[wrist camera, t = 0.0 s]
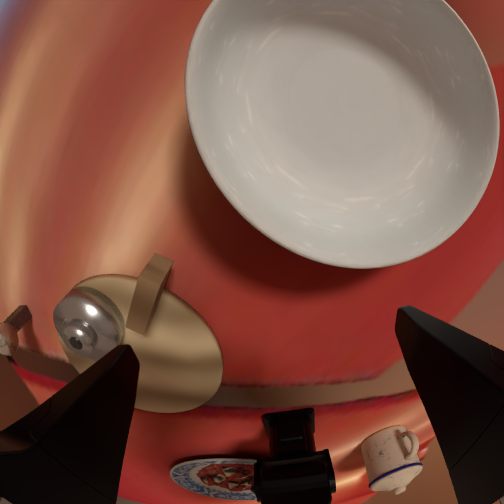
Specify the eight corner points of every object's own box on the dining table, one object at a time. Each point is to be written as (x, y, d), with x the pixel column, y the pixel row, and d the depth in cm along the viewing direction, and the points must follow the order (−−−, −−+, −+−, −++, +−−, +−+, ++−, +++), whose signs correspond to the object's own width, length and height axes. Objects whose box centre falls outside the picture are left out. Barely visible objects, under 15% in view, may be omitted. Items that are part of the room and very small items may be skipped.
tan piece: (239, 403, 30) (238, 437, 26) (105, 401, 32) (94, 428, 27) (190, 241, 22) (175, 270, 18) (31, 271, 24) (4, 294, 19)
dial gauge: (39, 322, 27) (7, 361, 20) (28, 322, 27) (-3, 359, 20) (27, 297, 26) (-10, 335, 19) (16, 298, 26) (-19, 334, 19)
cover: (136, 344, 25) (122, 373, 22) (83, 344, 26) (67, 370, 22) (108, 282, 23) (87, 308, 19) (55, 289, 23) (33, 312, 19)
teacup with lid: (392, 447, 39) (407, 495, 28) (350, 453, 38) (362, 507, 28) (426, 410, 34) (450, 464, 24) (381, 416, 34) (403, 479, 23)
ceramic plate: (146, 464, 42) (144, 475, 39) (238, 433, 35) (237, 450, 32) (239, 498, 49) (238, 507, 46) (331, 470, 42) (333, 482, 39)
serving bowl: (280, 272, 24) (289, 322, 18) (160, 49, 17) (125, 21, 11) (472, 180, 21) (520, 199, 14) (385, -24, 13) (419, -55, 7)
